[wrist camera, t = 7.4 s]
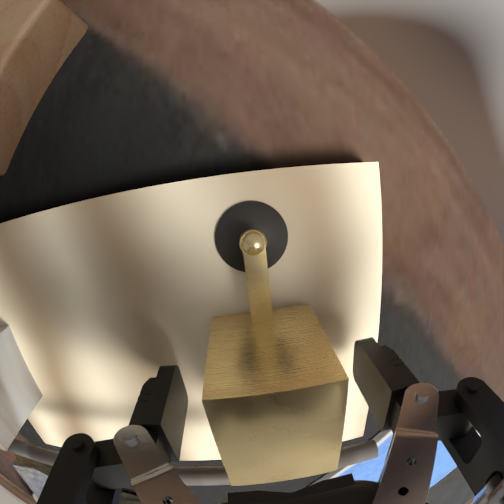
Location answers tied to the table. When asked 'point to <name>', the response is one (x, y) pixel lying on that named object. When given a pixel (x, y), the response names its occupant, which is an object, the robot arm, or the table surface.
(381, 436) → the tablet computer
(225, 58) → the table surface
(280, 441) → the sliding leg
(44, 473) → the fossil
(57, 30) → the wooden block set
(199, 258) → the cream panel
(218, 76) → the table surface
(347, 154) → the table surface
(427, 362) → the table surface
